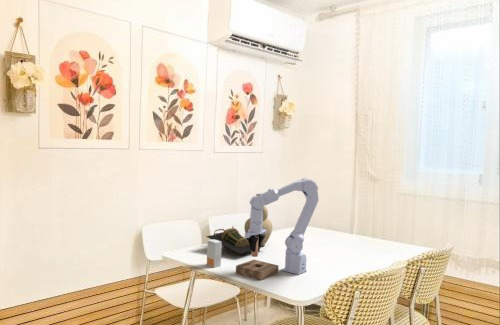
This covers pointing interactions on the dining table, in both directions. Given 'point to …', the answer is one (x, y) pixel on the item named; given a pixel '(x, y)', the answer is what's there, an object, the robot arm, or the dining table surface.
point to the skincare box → (214, 253)
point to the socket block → (257, 269)
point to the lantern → (232, 240)
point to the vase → (265, 225)
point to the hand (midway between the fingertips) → (255, 250)
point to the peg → (255, 254)
